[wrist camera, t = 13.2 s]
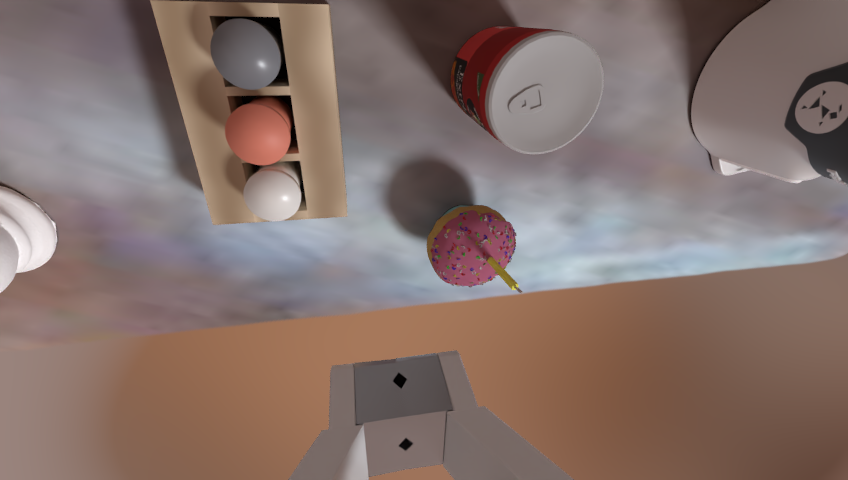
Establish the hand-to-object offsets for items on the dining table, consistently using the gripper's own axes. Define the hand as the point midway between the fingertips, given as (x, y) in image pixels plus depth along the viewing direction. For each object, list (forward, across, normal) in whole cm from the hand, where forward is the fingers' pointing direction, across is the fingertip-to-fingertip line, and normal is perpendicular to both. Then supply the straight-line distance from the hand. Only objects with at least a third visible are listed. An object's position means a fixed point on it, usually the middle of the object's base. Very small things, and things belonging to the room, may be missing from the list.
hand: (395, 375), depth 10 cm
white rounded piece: (+29, +7, +5) cm, 30 cm away
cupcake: (+29, -10, +12) cm, 33 cm away
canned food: (+29, -12, -3) cm, 32 cm away
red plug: (+28, +7, 0) cm, 29 cm away
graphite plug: (+29, +7, -5) cm, 30 cm away
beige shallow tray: (+29, +7, 0) cm, 30 cm away
